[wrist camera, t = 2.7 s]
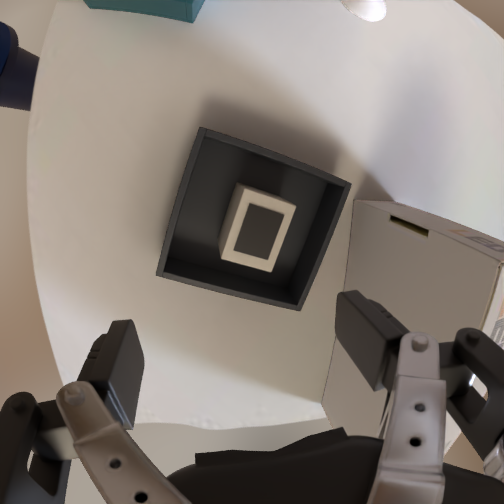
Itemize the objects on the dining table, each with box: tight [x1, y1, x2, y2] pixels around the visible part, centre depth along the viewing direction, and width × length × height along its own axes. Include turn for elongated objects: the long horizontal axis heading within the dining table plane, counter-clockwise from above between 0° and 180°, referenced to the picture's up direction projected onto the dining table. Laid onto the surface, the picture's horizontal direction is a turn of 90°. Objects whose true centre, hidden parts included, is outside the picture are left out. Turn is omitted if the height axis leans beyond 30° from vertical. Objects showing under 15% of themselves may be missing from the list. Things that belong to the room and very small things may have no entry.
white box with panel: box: [217, 182, 296, 272], centre depth 27 cm, size 4×6×6 cm
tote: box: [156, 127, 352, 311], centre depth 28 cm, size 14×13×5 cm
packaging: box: [321, 200, 504, 455], centre depth 27 cm, size 30×6×20 cm, turn 179°
